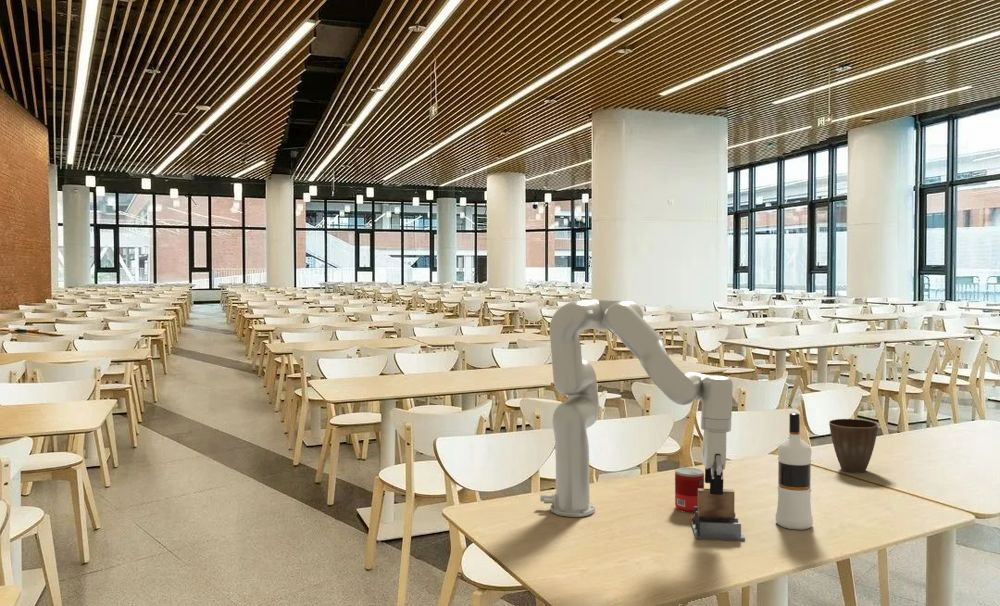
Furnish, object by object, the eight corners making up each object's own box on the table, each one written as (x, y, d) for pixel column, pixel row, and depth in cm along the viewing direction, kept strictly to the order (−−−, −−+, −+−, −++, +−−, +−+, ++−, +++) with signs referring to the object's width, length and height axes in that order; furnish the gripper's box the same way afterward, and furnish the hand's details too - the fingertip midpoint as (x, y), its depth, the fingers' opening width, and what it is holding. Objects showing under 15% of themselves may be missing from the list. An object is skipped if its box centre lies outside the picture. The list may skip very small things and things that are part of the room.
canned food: (704, 514, 212) (704, 475, 211) (675, 512, 213) (675, 473, 213) (703, 505, 219) (703, 468, 219) (674, 504, 221) (674, 466, 220)
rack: (696, 539, 192) (696, 522, 192) (690, 521, 205) (690, 506, 205) (745, 541, 190) (745, 524, 190) (736, 523, 203) (736, 507, 203)
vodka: (767, 522, 204) (768, 411, 203) (793, 517, 208) (793, 408, 207) (795, 533, 196) (795, 417, 194) (820, 527, 200) (821, 414, 198)
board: (698, 528, 197) (698, 490, 197) (697, 525, 199) (697, 488, 199) (734, 529, 196) (734, 491, 196) (732, 527, 198) (733, 489, 198)
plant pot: (847, 477, 247) (848, 428, 246) (819, 465, 261) (819, 419, 261) (887, 474, 250) (888, 426, 249) (857, 463, 264) (858, 417, 264)
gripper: (697, 416, 206) (694, 478, 207) (705, 430, 189) (703, 497, 190) (725, 417, 205) (723, 479, 206) (736, 431, 188) (733, 499, 189)
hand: (713, 488), depth 198 cm, fingers open, 9 cm apart
